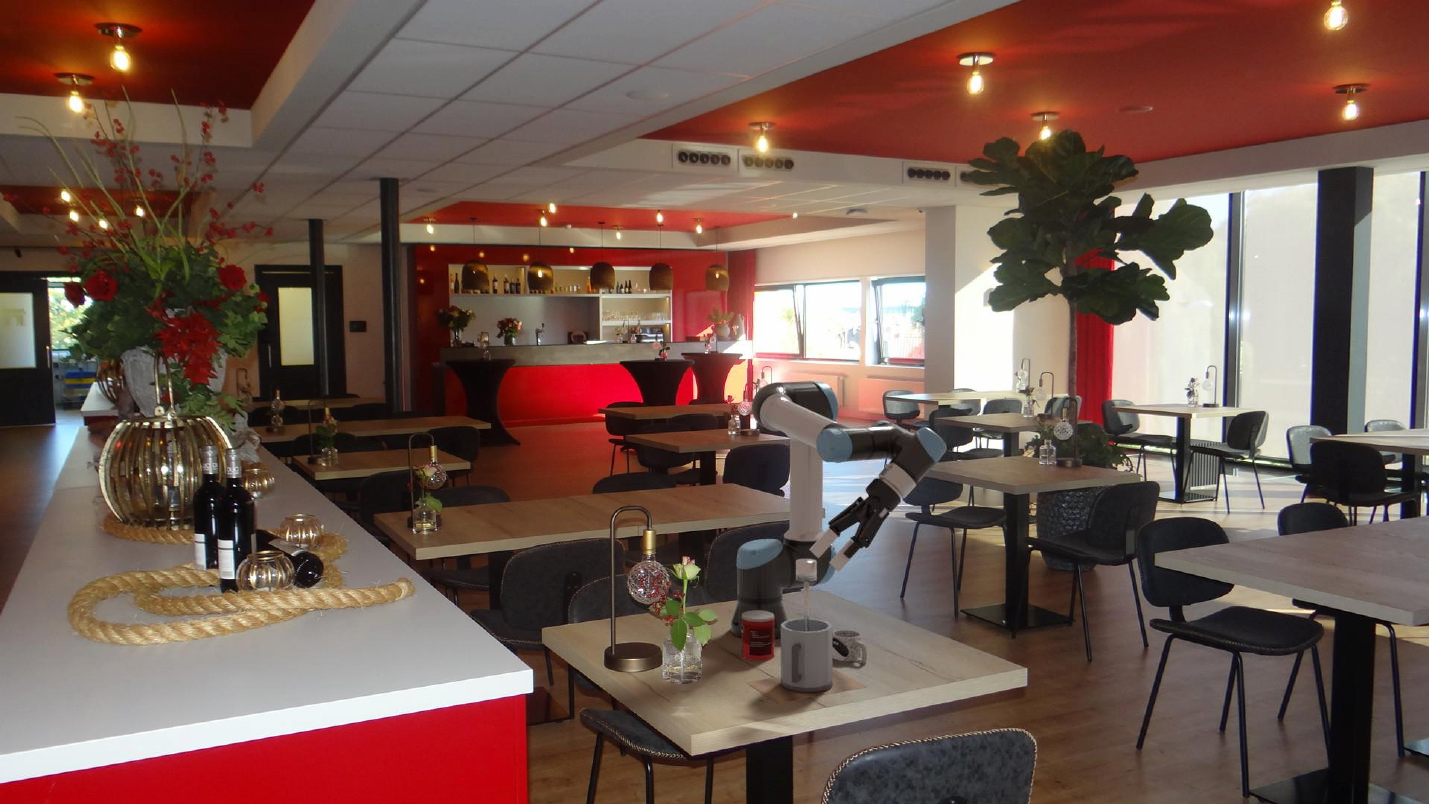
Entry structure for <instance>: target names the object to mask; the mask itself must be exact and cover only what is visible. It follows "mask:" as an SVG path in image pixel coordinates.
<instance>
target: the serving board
mask: <svg viewBox="0 0 1429 804" xmlns="http://www.w3.org/2000/svg"><path fill="white" fill-rule="evenodd" d="M832 679H833V686H832V688H831V689H830V690H828V691H825V692H821V693H814V694H802V693H795V692H791V691H788V690H785V689H784V688H782V687H781V676H778V677H772V678H766V679H761V680H755V681H748V682H746V684H748V685H749V686H750V687H752V688H754V689H755V690H757V691H758V692H760V693H761V694H763V695H764V696H766V697H767V698H769V699H770V700H772V702H774V703H776V704H783V703H789V702H793V701H799V700H804V699H809V698H810V699H811V698H815V697H820V696H825V695H826V696H828V695H830V694H831V695H832V694H837V693H843V692H847V691H853V690H859V689H864V688H868V686H867V685H865V684H864V683H862V682H860V681H858V680H856V679H855V678H852V676H851V677H850V676H849V675H847V674H845V673H843V672H841V671H839V670H838V669H836V668H834V667H832Z"/></svg>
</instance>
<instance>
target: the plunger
mask: <svg viewBox="0 0 1429 804" xmlns="http://www.w3.org/2000/svg"><path fill="white" fill-rule="evenodd" d="M796 580H797V581H801V582H804V587H803V618H804V632H809V618H810V617H809V616H810V615H809V614H810V613H809V612H810V607H809V606H810V603H809V601H810V598H809V597H810V592H809V591H810V590H809V587H810V586H809V582H812V581H816V580H817V561H816V560H814V559H798V560H796Z"/></svg>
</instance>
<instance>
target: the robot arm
mask: <svg viewBox="0 0 1429 804" xmlns="http://www.w3.org/2000/svg"><path fill="white" fill-rule="evenodd" d="M839 409H840V408H839V402H838V398H837V395H836V393H835V391H834V390H833V388H832V387H831V386H830V385H829V384H828V383H826V382H823V381H813V380H807V381H786V382H785V381H784V382H783V381H782V382H778V381H777V382H772V383H768V384H766V385H764V386H762V387H761V388H759V390H757V392H756V393H755V394H754V397H753V399H752V402H751V414H752V415H753V418H754V420H755V421H756V422H757V423H758V424H759V425H760V426H761V427H762V428H765V429H767V430H769V431H772V432H778V431H779V432H782V433H784V434H785V435H786V436H787V438H788V439H789V441H790V443H789V457H790V458H789V529H788V530H787V531H786V532H785V533H784V534H783V543H782V541H780V540H779V539H775V538H766V539H765V538H762V539H754V540H751V541H748V542H745V543H743V544H742V545H741V546H740V547H739V548H738V550H737V556H736V565H735V566H736V574H737V575H736V577H737V578H736V583H737V585H736V587H737V588H736V589H737V593H736V595H737V597H736V598H737V602H736V606H735V608H734V611H733V615H732V619H731V621H730V633H731V634H732V635H734V636H735V635H736V637H738V638H741V639H742V614H743V613H744V612H747V611H754V610H761V611H768V612H771V613H773V614H774V639H779V638H781V624H782V623H783V622H785V621H787V620H789V619H788V617H787V613H786V610H785V607H784V603H783V590H788V589H796V588H804V582H801V581H797V580H796V560H798V559H814V560H816V561H817V580H816V581H812V582H809V587H815V586H817V585H821V584H822V585H823V584H825V583H827V582H829V581H830V580H831V579H832V578H833V577H834V575H835V572H836V571H837V572H840V571H841V570H842V569H843V568H844V567H845V566H846V565H847V564H848V563H849V562H850V560H851V559H852V558H854V556H855V555H856V554H857V553H858V551H859V550H860V549H861V550H862V549H863V548H865V549H868V548H869V547H870V546H871V544H872V542H873V540H874V539H875V537H876V535H877V533H878V532H879V530H880V528H881V526H882V525H883V523H884V522H885V520H886V519H887V518H888V517H889V515H890V513H892V512H893V511H894V510H895V509H896V508H897V507H898V505H900V504H901V502H902V499H906V497H908V495H909V494H910V493H911V492H912V490H914V489H915V488H916V486H917V484H918V483H919V482H920V481H921V480H922V479H923V478H924V477H925V476H926V475H927V474H928V472H930V471H931V470H932V468H934V466H935V465H936V464H938V463H939V461H940V459H941V458H942V457H943V456H944V455H945V454H946V452H947V443H946V442H945V441H944V439H943V438H942V437H941V436H939V435H938V434H937V433H936V432H935V431H933V430H932V429H931V428H929V427H926V426H925V427H921V428H919V430H917V431H915V433H914V432H910V431H908V430H907V429H905V428H903V427H901V426H899V425H898V424H897V423H894V422H892V421H887V420H882V419H881V420H878V421H876V422H875V423H872V424H871V425H869V426H853V427H851V426H850V427H849V426H847V425H844V424H841V423H839V422H837V419H838V416H839ZM886 459H887V460H890V462H889V463H888V464H887V463H885V464H884V465H883V469H882V470H881V471H880V472H879V474H878V476H877V477H876V478H875V477H874V478H873V479H872V480H871V482H870V483H869V484H868V485H867V486H866V487H865V492H866V494H867V497H865V499H864V498H863V497H862V496H858V498H856V499H855V501H853V502H852V503H851V504H850V505H848V506H847V507H846V508H845V509H843V510H842V511H841V512H839V513H838V514H837V515H836V516H835V517H833V518H832V519H831V520H829V521H828V522H827V525H828V529H827V530H825V531H824V530H823V491H824V489H823V482H824V481H823V480H824V479H823V477H824V476H823V475H824V471H823V470H824V462H825V463H837V464H840V463H845V462H846V463H849V462H859V461H875V460H886ZM857 523H859V524H858V527H857V528H856V531H855V534H854V535H851V536H850V537H849V540H848V541H847V542H846V543H845V544H844V545H843V546H842V548H841V549H840V550H839V551H838V552H836V551H835V550H836V547H835V545H834V544H833V543H834V542H835V541H836V540H837V539H838V538H840V536H841V533H842V532H844V531H846V530H848V529H849V528H851V527H852V526H854V525H855V524H857Z"/></svg>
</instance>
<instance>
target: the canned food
mask: <svg viewBox="0 0 1429 804" xmlns="http://www.w3.org/2000/svg"><path fill="white" fill-rule="evenodd" d="M741 656H742V658H743V659H746V660H748V661H749V660H750V661H756V662H759V661H761V662H762V661H763V662H764V661H768V660H769V661H770V660H772V659H774V658H775V638H774V614H773V613H771V612H768V611H761V610H754V611H747V612H744V613H743V614H742V638H741Z"/></svg>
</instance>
